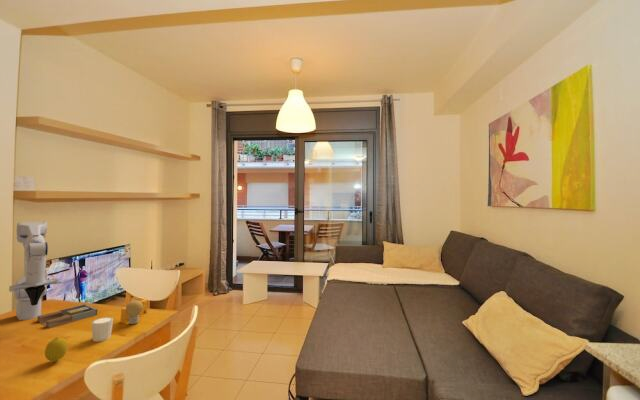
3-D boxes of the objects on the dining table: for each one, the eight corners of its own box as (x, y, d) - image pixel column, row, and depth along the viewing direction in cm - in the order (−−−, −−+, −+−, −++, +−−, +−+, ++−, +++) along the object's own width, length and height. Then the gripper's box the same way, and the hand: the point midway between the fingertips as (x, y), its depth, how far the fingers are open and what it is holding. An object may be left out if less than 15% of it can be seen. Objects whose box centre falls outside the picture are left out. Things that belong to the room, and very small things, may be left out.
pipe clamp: (139, 312, 138) (139, 299, 138) (146, 313, 138) (147, 300, 138) (117, 322, 127) (117, 308, 127) (125, 323, 126) (126, 309, 126)
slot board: (37, 322, 123) (37, 316, 123) (84, 310, 138) (84, 304, 138) (49, 330, 117) (49, 322, 117) (97, 316, 132) (97, 310, 132)
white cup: (116, 336, 114) (117, 318, 114) (98, 343, 108) (99, 325, 108) (104, 332, 116) (105, 315, 116) (86, 340, 110) (87, 322, 110)
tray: (59, 315, 129) (60, 310, 129) (84, 309, 138) (85, 304, 138) (71, 321, 124) (71, 315, 124) (97, 314, 132) (97, 309, 132)
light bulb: (143, 319, 130) (144, 297, 130) (139, 325, 124) (140, 302, 124) (127, 321, 128) (128, 298, 128) (122, 327, 122) (123, 303, 122)
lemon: (53, 357, 98) (54, 333, 98) (71, 357, 98) (72, 333, 98) (39, 366, 92) (40, 341, 92) (57, 366, 93) (58, 341, 93)
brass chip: (66, 316, 128) (66, 311, 128) (76, 314, 132) (76, 308, 132) (70, 318, 127) (70, 313, 127) (80, 316, 130) (80, 310, 130)
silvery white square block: (76, 314, 132) (76, 308, 132) (85, 311, 135) (85, 306, 135) (80, 316, 130) (80, 310, 130) (89, 313, 133) (89, 308, 133)
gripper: (14, 276, 110) (12, 312, 109) (62, 270, 122) (60, 301, 122) (8, 274, 113) (6, 308, 113) (55, 267, 126) (53, 298, 126)
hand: (34, 304), depth 118 cm, fingers closed
